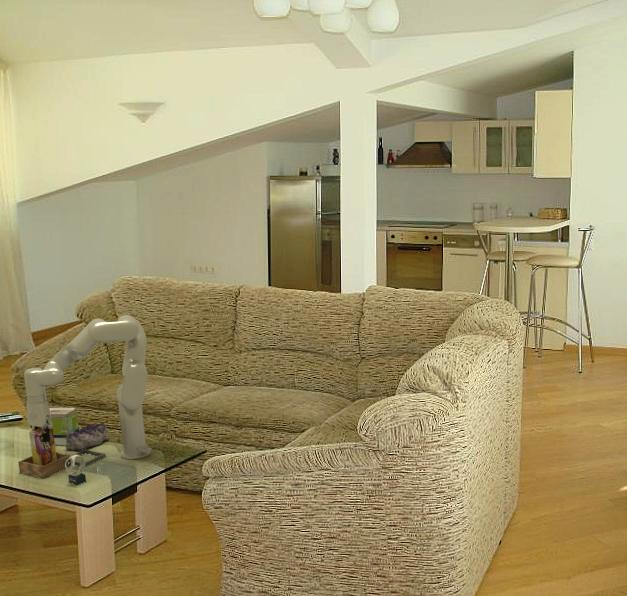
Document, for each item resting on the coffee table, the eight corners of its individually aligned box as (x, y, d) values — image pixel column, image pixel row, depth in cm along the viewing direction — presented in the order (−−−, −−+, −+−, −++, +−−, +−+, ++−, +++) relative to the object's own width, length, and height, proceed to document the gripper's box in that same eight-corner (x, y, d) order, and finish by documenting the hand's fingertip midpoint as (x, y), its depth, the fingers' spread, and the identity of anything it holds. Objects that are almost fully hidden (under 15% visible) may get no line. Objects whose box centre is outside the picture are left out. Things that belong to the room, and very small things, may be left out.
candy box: (51, 459, 393) (47, 424, 390) (57, 461, 390) (53, 426, 387) (33, 466, 387) (28, 431, 384) (38, 468, 384) (34, 433, 381)
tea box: (80, 438, 426) (77, 406, 423) (70, 446, 416) (67, 414, 413) (50, 437, 429) (46, 406, 426) (39, 445, 419) (35, 413, 416)
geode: (97, 436, 427) (97, 415, 425) (114, 443, 421) (114, 422, 418) (60, 448, 412) (60, 427, 409) (77, 456, 405) (77, 434, 402)
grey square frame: (105, 457, 399) (105, 453, 399) (83, 467, 389) (83, 463, 388) (85, 452, 406) (84, 449, 406) (62, 462, 396) (62, 459, 395)
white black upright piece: (64, 483, 372) (61, 457, 370) (82, 477, 378) (79, 451, 376) (72, 487, 368) (69, 460, 366) (90, 480, 374) (87, 454, 372)
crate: (71, 466, 391) (69, 454, 390) (44, 478, 379) (42, 467, 378) (47, 461, 399) (45, 449, 398) (19, 473, 387) (18, 461, 386)
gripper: (15, 398, 384) (21, 440, 388) (43, 403, 375) (49, 446, 379) (30, 393, 391) (35, 435, 394) (58, 397, 381) (63, 440, 385)
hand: (42, 440), depth 386 cm, fingers closed on candy box, 4 cm apart
